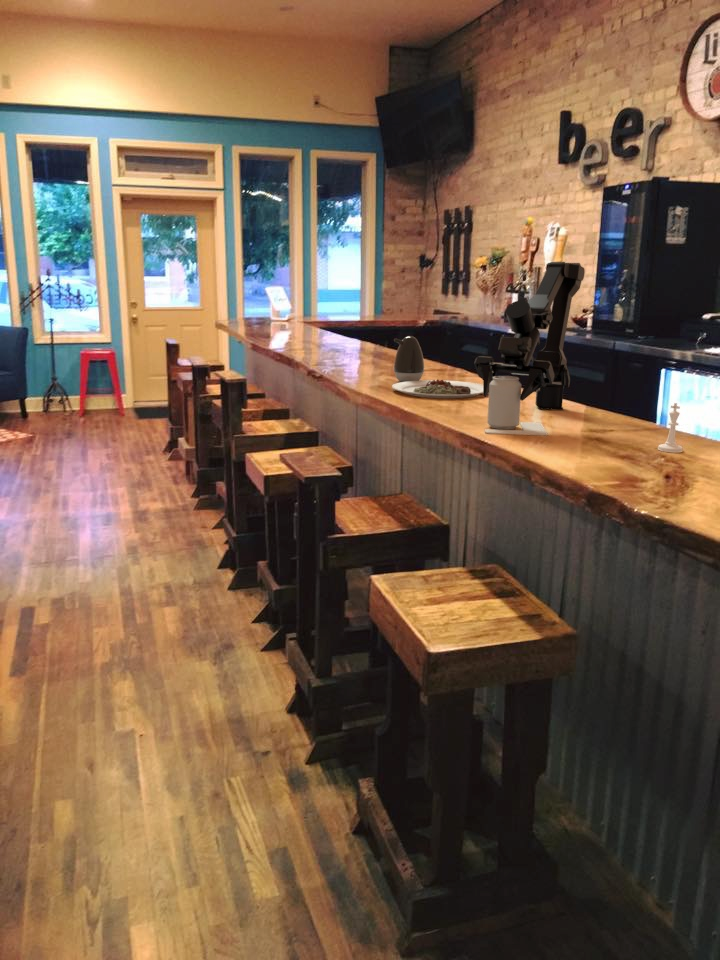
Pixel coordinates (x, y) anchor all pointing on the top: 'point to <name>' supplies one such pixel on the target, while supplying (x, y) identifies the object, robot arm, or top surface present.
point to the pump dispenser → (408, 360)
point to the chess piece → (672, 433)
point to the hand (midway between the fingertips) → (502, 397)
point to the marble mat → (527, 428)
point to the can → (504, 402)
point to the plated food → (439, 388)
